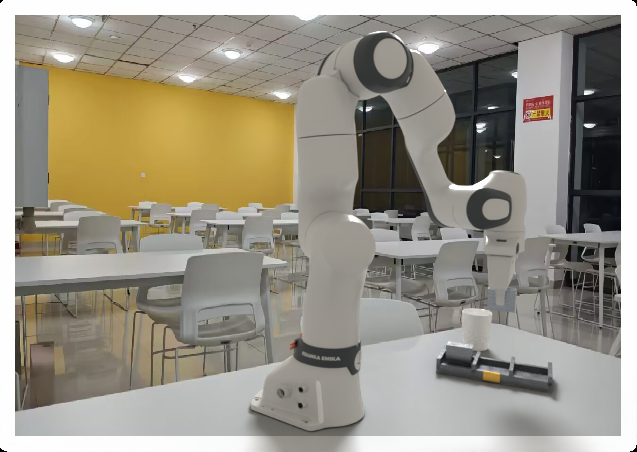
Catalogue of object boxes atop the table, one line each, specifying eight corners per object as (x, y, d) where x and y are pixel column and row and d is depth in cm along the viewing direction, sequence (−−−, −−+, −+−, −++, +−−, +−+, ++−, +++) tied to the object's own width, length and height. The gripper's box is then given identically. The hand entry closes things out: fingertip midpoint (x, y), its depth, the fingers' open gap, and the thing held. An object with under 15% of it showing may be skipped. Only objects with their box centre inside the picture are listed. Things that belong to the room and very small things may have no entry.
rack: (435, 373, 121) (436, 348, 120) (443, 359, 130) (444, 336, 130) (551, 393, 111) (553, 366, 110) (551, 377, 120) (552, 352, 120)
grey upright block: (486, 309, 117) (487, 288, 117) (488, 306, 120) (489, 285, 119) (514, 312, 115) (515, 290, 114) (515, 309, 117) (516, 288, 117)
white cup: (494, 352, 137) (496, 316, 136) (464, 351, 137) (466, 315, 136) (485, 343, 144) (487, 308, 144) (457, 342, 145) (458, 307, 144)
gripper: (494, 237, 126) (492, 292, 128) (483, 247, 108) (481, 311, 109) (521, 238, 124) (519, 294, 125) (515, 249, 105) (512, 314, 107)
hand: (501, 302), depth 117 cm, fingers closed on grey upright block, 3 cm apart
